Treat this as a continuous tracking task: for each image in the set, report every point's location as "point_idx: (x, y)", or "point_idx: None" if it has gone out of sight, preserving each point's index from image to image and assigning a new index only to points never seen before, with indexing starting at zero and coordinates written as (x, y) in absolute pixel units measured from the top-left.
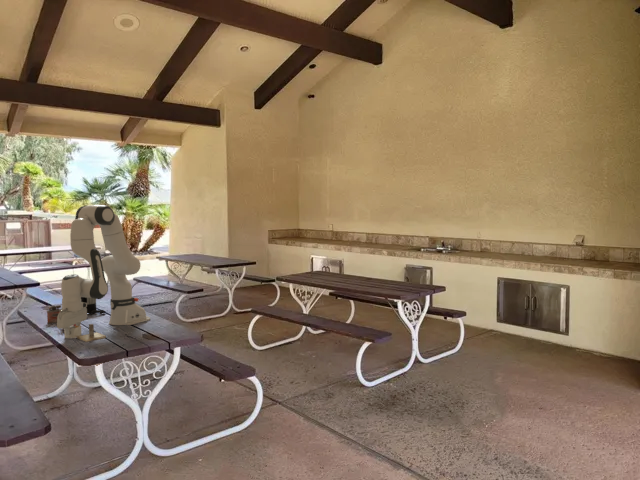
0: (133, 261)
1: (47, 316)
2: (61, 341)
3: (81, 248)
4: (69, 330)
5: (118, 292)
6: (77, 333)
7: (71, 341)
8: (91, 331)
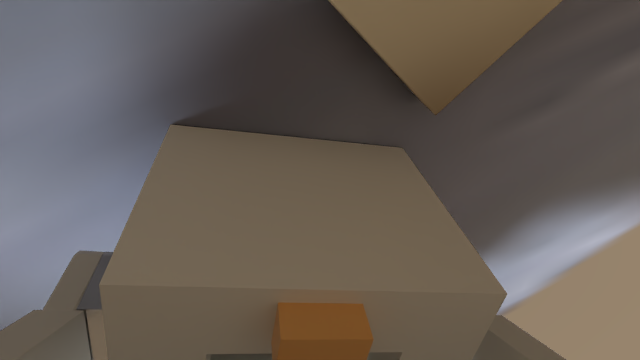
0: None
1: None
2: (549, 254)
3: None
4: (512, 339)
5: None
6: (326, 177)
7: (620, 106)
8: None
